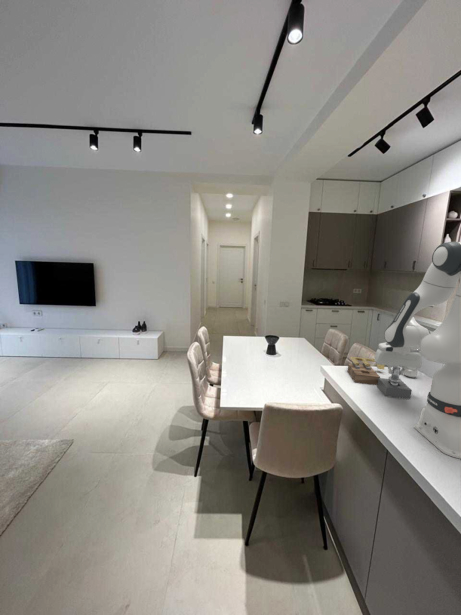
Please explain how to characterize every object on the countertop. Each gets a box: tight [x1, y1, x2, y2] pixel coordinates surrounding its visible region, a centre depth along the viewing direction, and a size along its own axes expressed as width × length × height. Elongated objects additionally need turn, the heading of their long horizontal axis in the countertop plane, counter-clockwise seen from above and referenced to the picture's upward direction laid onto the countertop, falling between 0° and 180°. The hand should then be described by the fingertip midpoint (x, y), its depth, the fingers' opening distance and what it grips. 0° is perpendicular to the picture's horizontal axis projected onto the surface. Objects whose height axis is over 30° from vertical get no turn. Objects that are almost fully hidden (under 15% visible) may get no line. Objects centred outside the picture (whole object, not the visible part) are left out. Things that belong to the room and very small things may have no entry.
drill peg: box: [387, 366, 402, 386], centre depth 130 cm, size 5×5×12 cm
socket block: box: [347, 361, 381, 386], centre depth 147 cm, size 16×12×6 cm
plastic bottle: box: [403, 347, 420, 378], centre depth 150 cm, size 6×7×20 cm
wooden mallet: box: [350, 356, 386, 370], centre depth 153 cm, size 12×19×7 cm, turn 80°
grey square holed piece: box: [376, 377, 413, 400], centre depth 130 cm, size 11×11×5 cm
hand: (395, 374), depth 129 cm, fingers closed on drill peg, 3 cm apart
